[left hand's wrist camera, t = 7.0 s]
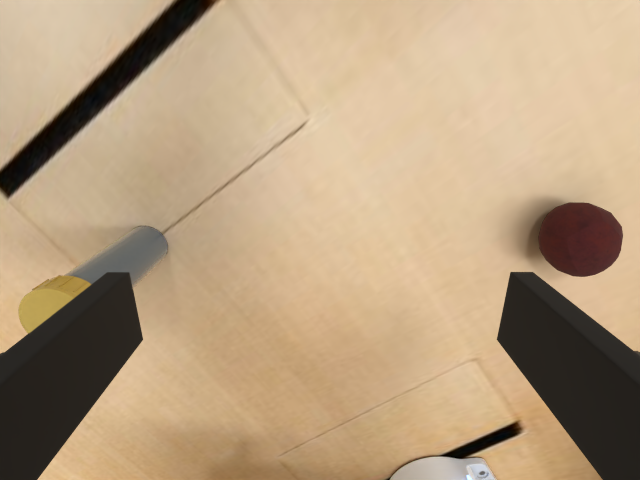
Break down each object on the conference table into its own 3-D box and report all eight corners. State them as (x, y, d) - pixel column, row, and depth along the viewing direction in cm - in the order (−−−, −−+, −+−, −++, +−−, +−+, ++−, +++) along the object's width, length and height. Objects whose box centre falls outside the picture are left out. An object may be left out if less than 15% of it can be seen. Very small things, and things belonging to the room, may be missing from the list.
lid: (102, 276, 29) (84, 290, 26) (112, 334, 30) (96, 351, 28) (33, 273, 28) (9, 286, 26) (47, 331, 30) (26, 348, 28)
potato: (540, 270, 43) (580, 300, 36) (513, 217, 41) (551, 239, 34) (601, 237, 41) (654, 262, 35) (577, 181, 39) (629, 196, 33)
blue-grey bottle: (166, 226, 41) (84, 291, 27) (169, 264, 43) (94, 343, 29) (124, 224, 41) (20, 288, 27) (129, 262, 43) (34, 341, 28)
